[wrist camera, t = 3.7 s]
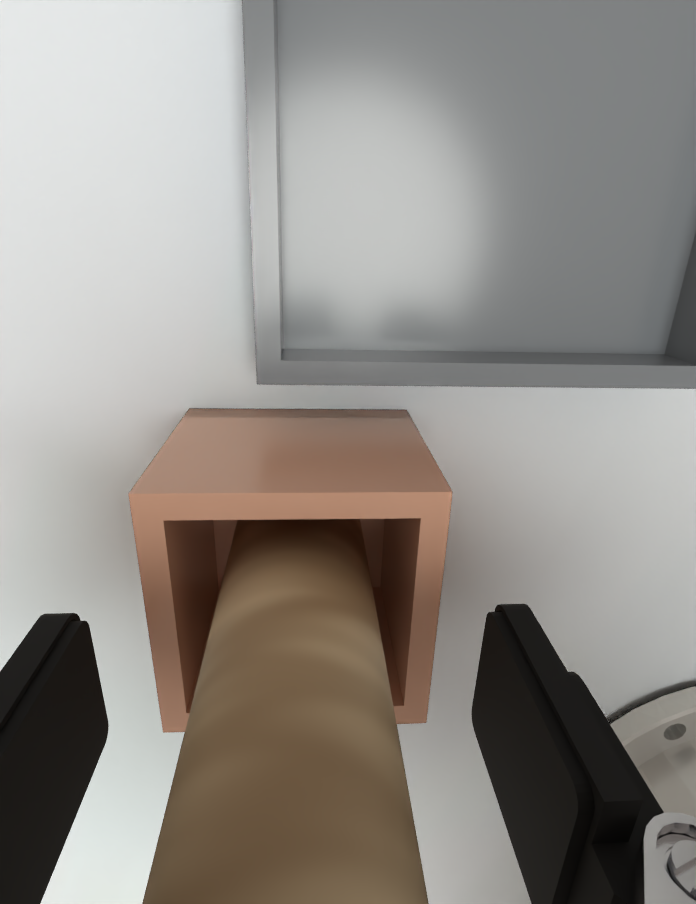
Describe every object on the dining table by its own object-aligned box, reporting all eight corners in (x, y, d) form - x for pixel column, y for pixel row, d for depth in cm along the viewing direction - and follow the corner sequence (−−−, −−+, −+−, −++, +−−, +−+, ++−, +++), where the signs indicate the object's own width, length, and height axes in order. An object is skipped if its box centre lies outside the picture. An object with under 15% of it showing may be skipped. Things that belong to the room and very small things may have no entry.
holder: (406, 409, 16) (452, 491, 11) (393, 587, 18) (426, 722, 13) (189, 408, 15) (128, 493, 10) (205, 590, 18) (162, 732, 13)
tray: (885, -476, 10) (1028, -654, 8) (665, 370, 16) (716, 388, 14) (233, -565, 9) (211, -788, 7) (264, 365, 15) (256, 384, 13)
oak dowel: (360, 464, 15) (495, 1055, 4) (356, 566, 17) (448, 1213, 6) (236, 463, 15) (42, 1094, 4) (242, 568, 16) (108, 1249, 5)
